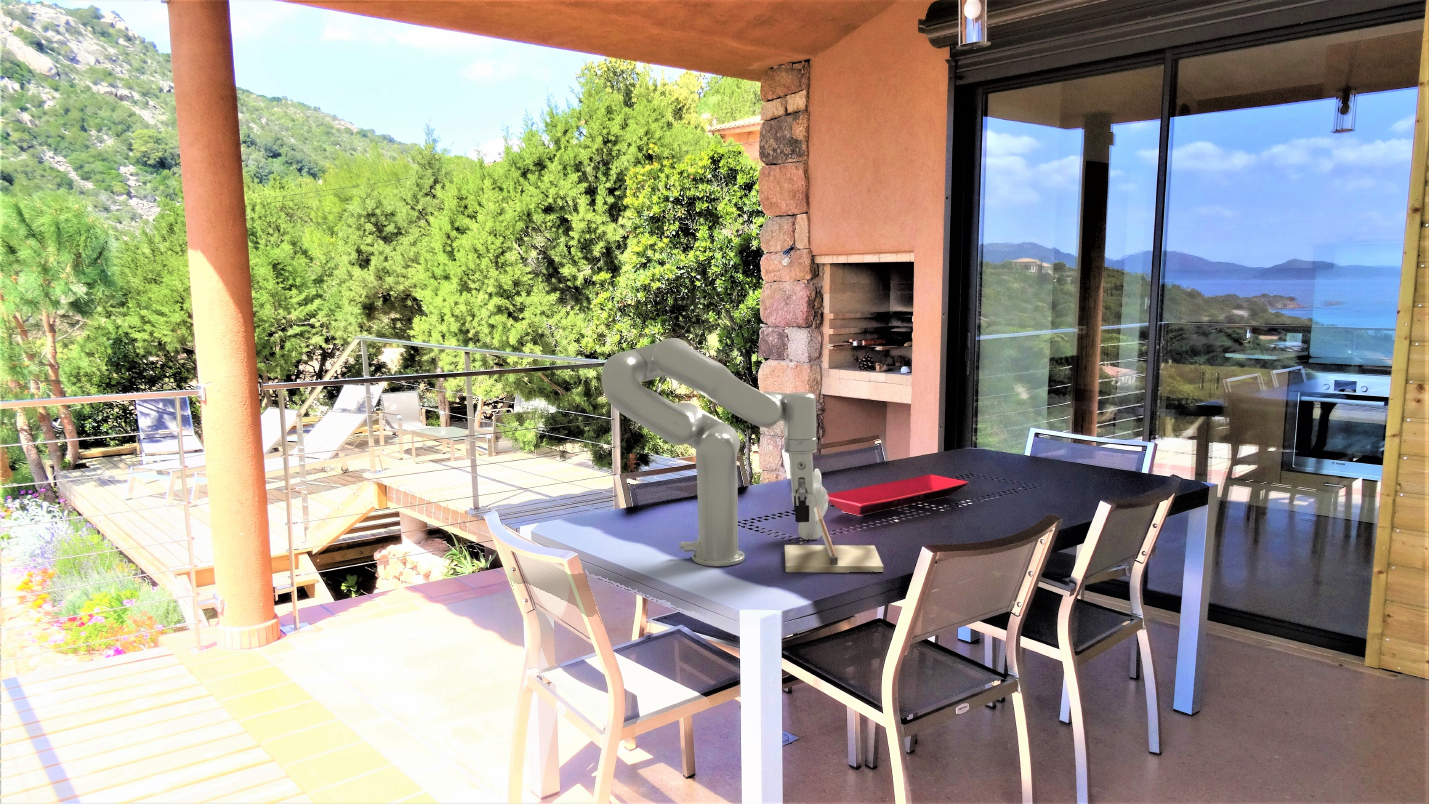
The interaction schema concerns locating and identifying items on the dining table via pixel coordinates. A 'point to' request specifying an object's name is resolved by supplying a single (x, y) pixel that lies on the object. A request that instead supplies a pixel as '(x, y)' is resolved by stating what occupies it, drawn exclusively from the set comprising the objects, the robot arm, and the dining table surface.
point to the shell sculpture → (821, 500)
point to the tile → (824, 531)
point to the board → (832, 558)
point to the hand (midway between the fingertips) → (801, 516)
